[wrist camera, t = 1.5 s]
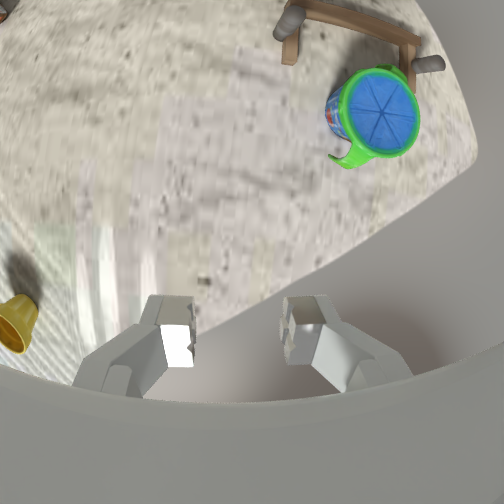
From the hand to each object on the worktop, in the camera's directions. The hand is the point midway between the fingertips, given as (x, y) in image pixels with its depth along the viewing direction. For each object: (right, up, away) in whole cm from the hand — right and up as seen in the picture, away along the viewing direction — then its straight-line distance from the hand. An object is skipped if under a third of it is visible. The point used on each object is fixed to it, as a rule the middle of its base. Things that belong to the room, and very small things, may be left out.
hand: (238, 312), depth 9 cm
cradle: (+15, +31, +19) cm, 39 cm away
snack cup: (+14, +21, +24) cm, 35 cm away
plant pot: (-47, -9, +32) cm, 58 cm away
